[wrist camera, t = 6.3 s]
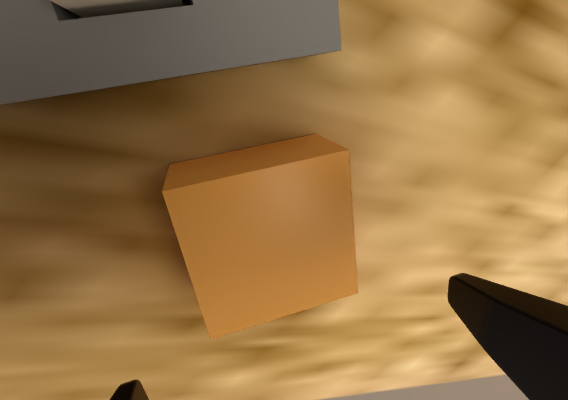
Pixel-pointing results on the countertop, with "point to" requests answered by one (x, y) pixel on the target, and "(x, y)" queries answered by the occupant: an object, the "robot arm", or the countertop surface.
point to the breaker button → (114, 6)
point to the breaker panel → (152, 42)
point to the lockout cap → (265, 230)
